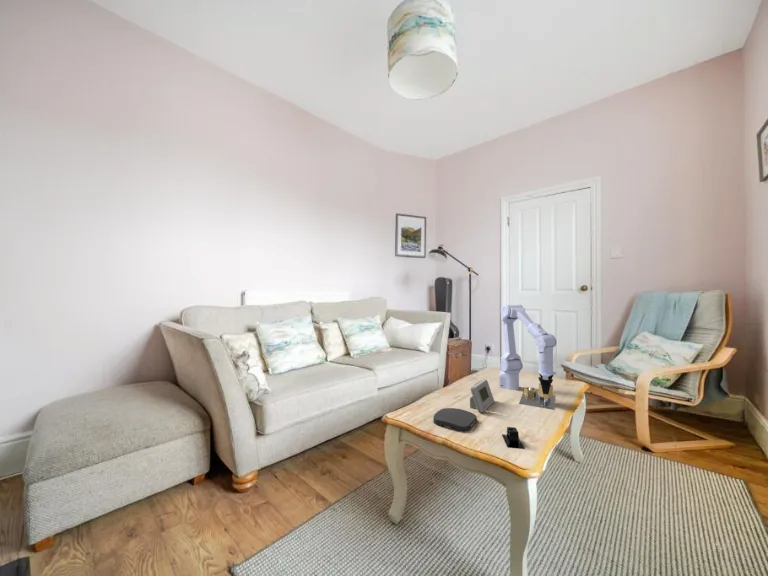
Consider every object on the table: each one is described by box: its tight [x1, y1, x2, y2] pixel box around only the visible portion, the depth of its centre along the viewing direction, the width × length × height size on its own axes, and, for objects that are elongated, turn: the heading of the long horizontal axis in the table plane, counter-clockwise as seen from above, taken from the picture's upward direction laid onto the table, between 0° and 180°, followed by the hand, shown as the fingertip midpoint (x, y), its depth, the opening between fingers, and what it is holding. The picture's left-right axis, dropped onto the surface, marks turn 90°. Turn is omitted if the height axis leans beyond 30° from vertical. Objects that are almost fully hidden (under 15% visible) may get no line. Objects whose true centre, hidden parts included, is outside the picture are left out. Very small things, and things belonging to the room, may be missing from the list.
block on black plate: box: [501, 426, 526, 450], centre depth 105 cm, size 12×7×5 cm, turn 170°
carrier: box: [518, 386, 556, 411], centre depth 142 cm, size 14×20×4 cm
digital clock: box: [469, 378, 495, 414], centre depth 136 cm, size 16×9×11 cm, turn 131°
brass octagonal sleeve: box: [538, 382, 554, 398], centre depth 137 cm, size 6×6×5 cm
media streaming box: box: [433, 407, 478, 433], centre depth 120 cm, size 15×15×3 cm
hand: (546, 391), depth 137 cm, fingers closed on brass octagonal sleeve, 6 cm apart
